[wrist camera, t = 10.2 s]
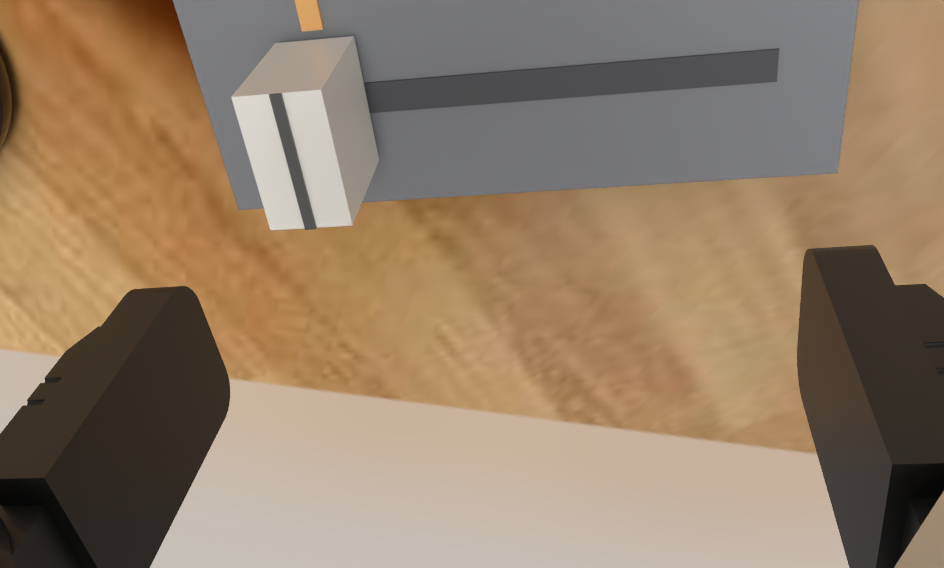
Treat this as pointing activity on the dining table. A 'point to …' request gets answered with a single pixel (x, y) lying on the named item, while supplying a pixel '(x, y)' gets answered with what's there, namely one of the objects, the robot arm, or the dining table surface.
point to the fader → (308, 133)
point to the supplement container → (4, 102)
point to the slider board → (554, 88)
